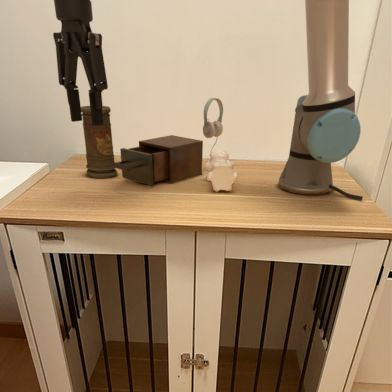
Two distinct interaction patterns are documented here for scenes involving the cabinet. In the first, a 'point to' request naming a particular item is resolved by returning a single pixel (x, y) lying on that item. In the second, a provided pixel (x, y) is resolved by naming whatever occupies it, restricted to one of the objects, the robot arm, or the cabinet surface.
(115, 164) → the drawer
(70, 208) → the cabinet surface
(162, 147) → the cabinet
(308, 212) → the cabinet surface
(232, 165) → the white rounded figure
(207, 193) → the cabinet surface
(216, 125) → the headphones
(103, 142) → the container
